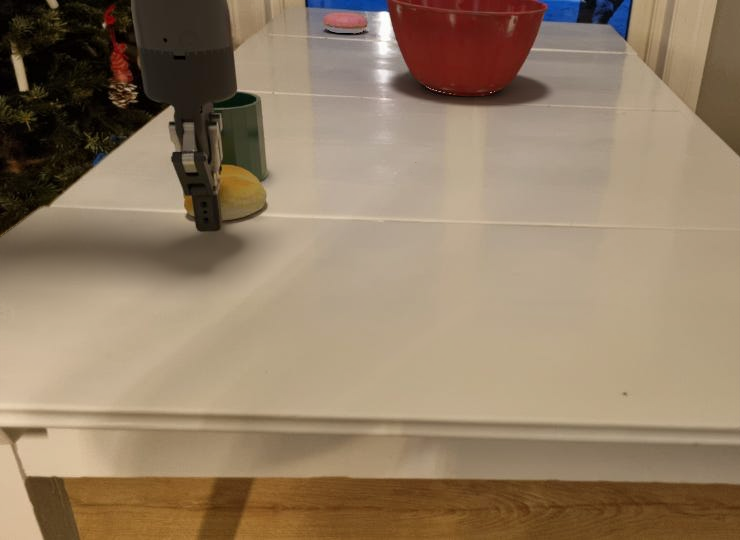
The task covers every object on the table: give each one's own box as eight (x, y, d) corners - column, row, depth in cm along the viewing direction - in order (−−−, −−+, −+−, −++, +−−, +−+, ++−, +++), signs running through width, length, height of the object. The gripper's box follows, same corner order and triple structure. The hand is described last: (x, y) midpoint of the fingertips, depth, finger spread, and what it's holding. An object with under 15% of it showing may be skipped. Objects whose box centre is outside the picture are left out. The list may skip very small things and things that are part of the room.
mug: (281, 172, 86) (276, 98, 82) (231, 193, 79) (222, 113, 75) (211, 154, 90) (202, 82, 86) (157, 171, 84) (145, 95, 80)
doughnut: (370, 29, 181) (370, 11, 179) (365, 36, 171) (364, 18, 169) (327, 26, 181) (326, 9, 179) (319, 34, 171) (318, 15, 169)
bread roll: (187, 227, 71) (181, 189, 69) (184, 195, 78) (178, 160, 76) (272, 219, 74) (269, 182, 72) (262, 188, 81) (259, 154, 79)
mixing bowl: (536, 75, 143) (544, -7, 136) (543, 113, 117) (553, 14, 110) (395, 67, 143) (396, -16, 136) (372, 102, 117) (371, 2, 110)
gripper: (152, 25, 65) (178, 203, 73) (118, 54, 53) (154, 261, 61) (238, 27, 66) (255, 201, 74) (224, 55, 55) (245, 257, 63)
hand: (209, 228), depth 68 cm, fingers closed
